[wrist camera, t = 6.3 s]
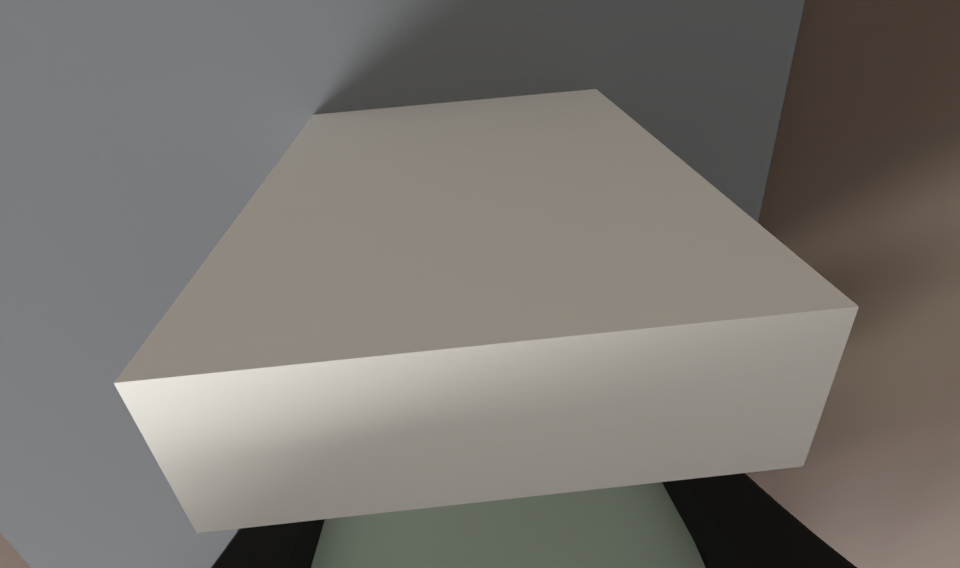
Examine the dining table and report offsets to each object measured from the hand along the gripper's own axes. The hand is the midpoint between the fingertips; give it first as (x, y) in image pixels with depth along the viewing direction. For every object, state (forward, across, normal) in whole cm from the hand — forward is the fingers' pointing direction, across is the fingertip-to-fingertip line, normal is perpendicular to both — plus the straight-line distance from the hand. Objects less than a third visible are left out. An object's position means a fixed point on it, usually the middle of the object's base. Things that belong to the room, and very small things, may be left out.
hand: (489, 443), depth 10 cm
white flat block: (+3, 0, -4) cm, 5 cm away
